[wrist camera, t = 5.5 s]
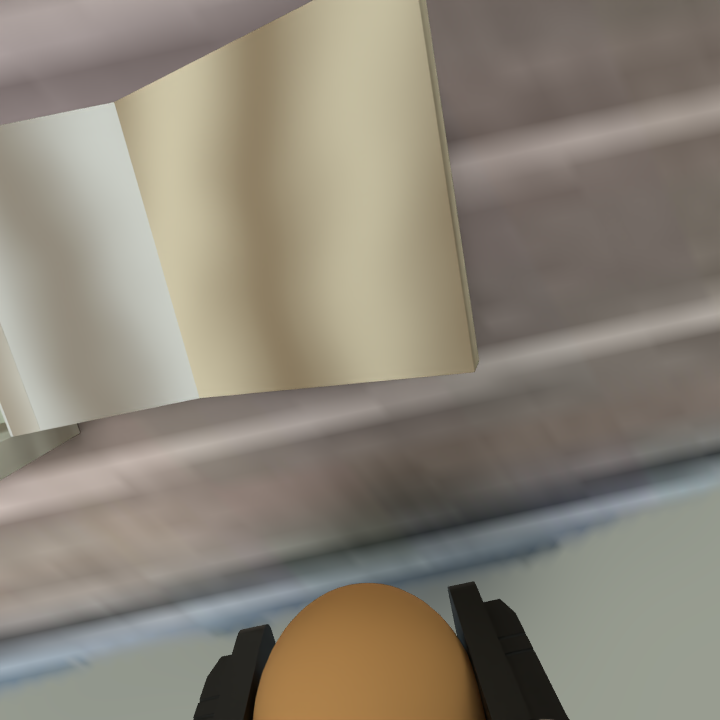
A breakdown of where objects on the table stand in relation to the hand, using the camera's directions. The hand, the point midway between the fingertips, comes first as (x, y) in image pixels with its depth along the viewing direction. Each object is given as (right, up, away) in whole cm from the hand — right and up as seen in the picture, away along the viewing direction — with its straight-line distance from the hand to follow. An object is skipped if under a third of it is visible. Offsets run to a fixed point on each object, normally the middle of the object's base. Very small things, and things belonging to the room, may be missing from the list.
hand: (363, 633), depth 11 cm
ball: (0, 0, -2) cm, 2 cm away
